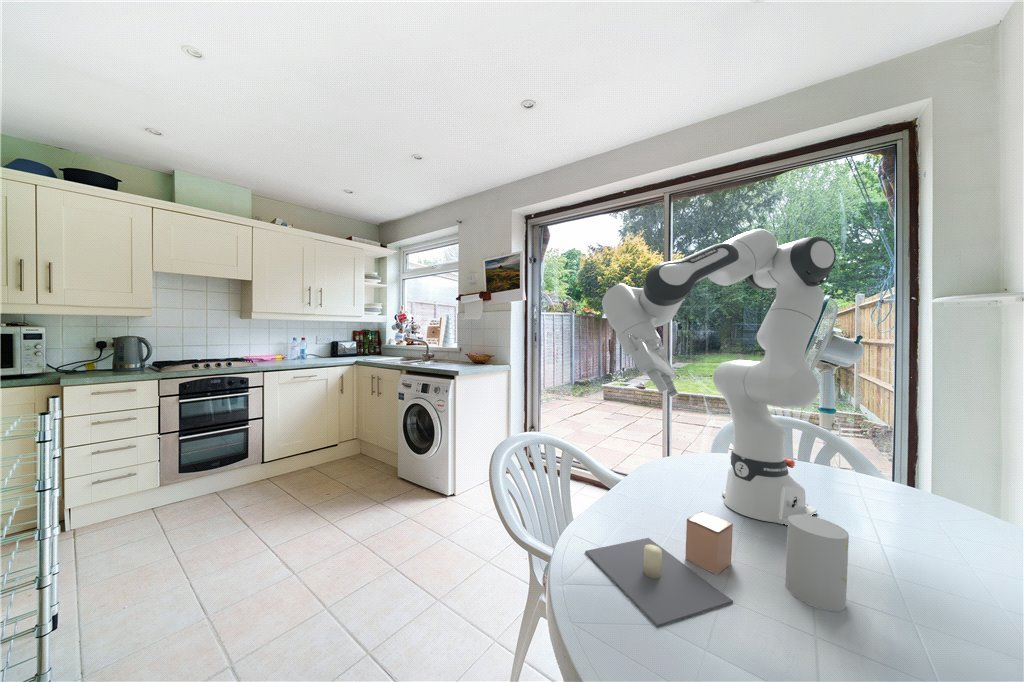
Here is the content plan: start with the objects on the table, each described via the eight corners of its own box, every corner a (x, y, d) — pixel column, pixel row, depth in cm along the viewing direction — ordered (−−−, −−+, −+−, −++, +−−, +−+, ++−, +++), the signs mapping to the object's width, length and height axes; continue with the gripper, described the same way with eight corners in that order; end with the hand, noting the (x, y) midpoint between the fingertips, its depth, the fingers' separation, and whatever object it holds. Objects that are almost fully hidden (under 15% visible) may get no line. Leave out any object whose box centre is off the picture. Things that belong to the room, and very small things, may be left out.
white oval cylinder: (858, 615, 59) (861, 541, 59) (801, 606, 60) (804, 534, 60) (826, 582, 67) (828, 517, 67) (776, 575, 68) (778, 512, 68)
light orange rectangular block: (700, 549, 76) (701, 511, 76) (731, 563, 71) (732, 523, 71) (685, 558, 73) (686, 518, 73) (716, 574, 68) (718, 532, 68)
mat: (648, 539, 79) (649, 517, 79) (733, 603, 61) (734, 573, 61) (585, 552, 74) (586, 528, 74) (657, 627, 55) (658, 595, 55)
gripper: (639, 324, 78) (672, 381, 72) (663, 344, 94) (692, 392, 88) (614, 339, 81) (643, 395, 75) (641, 356, 97) (667, 403, 91)
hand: (669, 393), depth 81 cm, fingers open, 8 cm apart
